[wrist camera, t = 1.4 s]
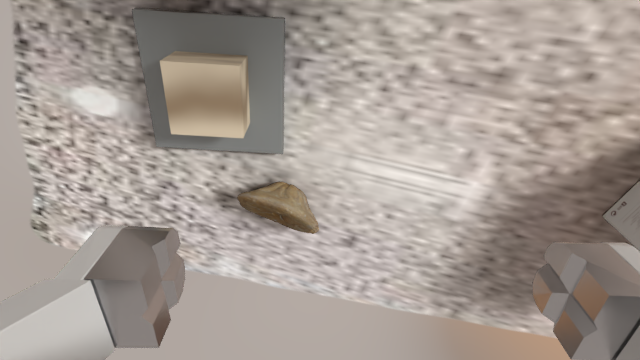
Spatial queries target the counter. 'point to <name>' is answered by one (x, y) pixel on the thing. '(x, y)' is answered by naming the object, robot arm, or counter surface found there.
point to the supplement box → (627, 216)
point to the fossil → (281, 206)
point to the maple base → (206, 94)
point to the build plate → (218, 38)
